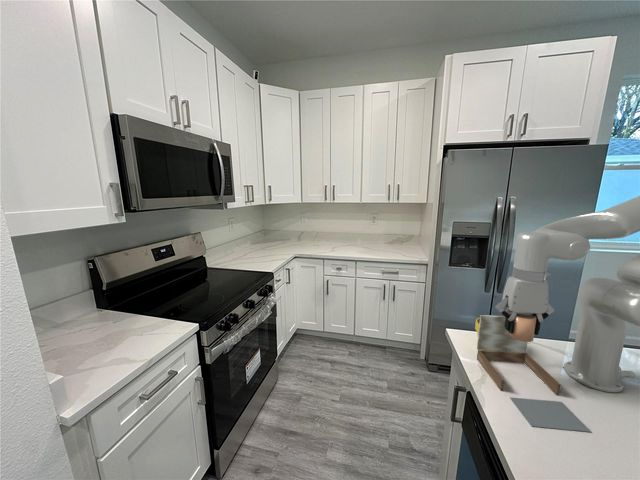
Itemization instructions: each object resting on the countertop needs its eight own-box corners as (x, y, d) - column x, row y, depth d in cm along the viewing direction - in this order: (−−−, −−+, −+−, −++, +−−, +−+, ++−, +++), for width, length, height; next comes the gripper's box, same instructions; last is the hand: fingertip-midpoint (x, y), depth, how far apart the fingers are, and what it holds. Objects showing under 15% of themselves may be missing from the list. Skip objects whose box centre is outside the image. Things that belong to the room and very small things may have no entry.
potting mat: (561, 402, 69) (561, 401, 69) (591, 432, 61) (591, 431, 61) (509, 397, 71) (509, 397, 71) (531, 426, 62) (531, 425, 62)
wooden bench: (523, 360, 87) (529, 317, 84) (558, 395, 72) (567, 344, 69) (475, 357, 89) (480, 315, 86) (500, 390, 74) (506, 340, 71)
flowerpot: (525, 331, 79) (527, 310, 78) (538, 342, 74) (541, 319, 72) (504, 330, 80) (506, 309, 79) (515, 341, 74) (518, 318, 73)
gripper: (552, 271, 76) (543, 327, 79) (489, 270, 78) (484, 324, 82) (573, 279, 69) (563, 340, 72) (503, 278, 71) (496, 337, 74)
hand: (521, 331), depth 77 cm, fingers closed on flowerpot, 6 cm apart
